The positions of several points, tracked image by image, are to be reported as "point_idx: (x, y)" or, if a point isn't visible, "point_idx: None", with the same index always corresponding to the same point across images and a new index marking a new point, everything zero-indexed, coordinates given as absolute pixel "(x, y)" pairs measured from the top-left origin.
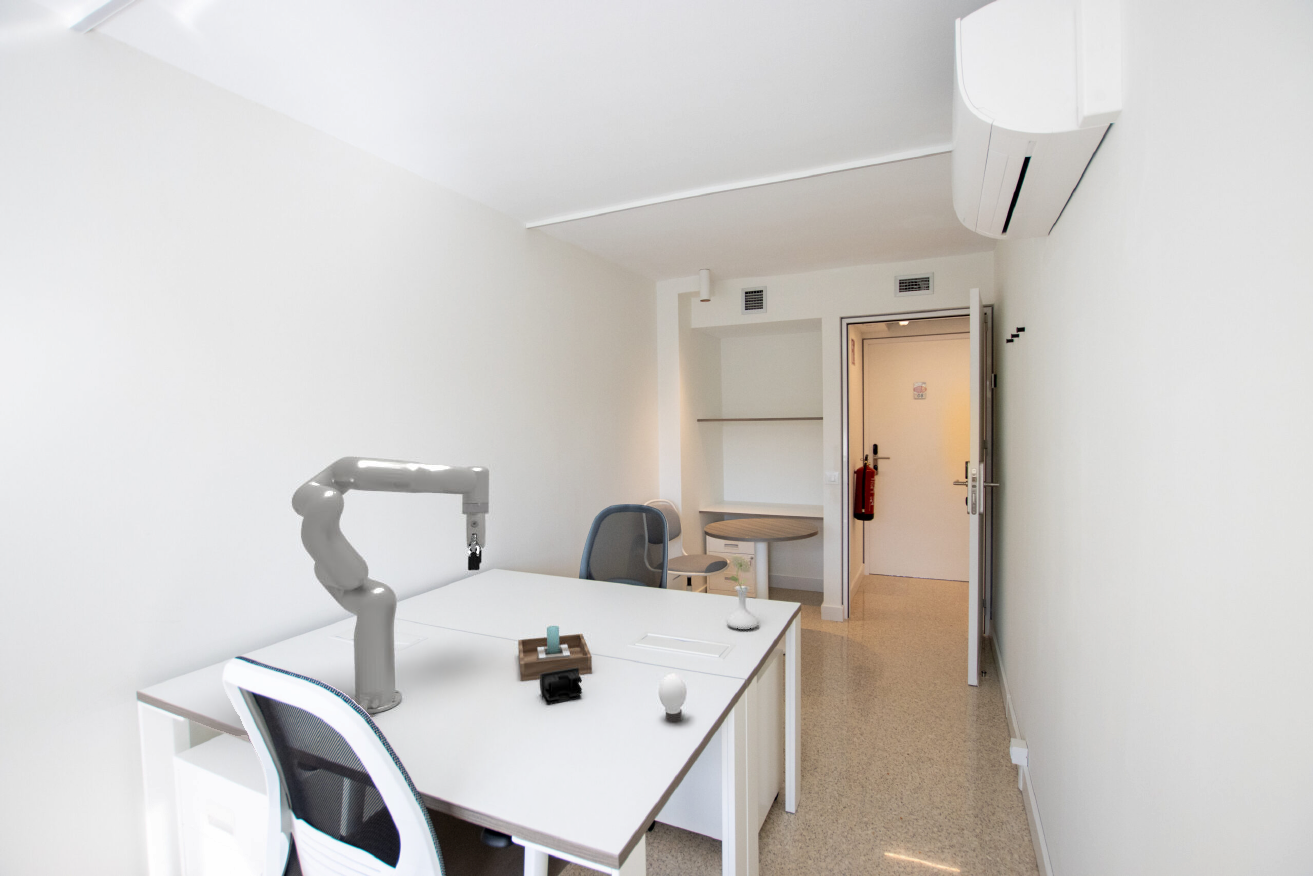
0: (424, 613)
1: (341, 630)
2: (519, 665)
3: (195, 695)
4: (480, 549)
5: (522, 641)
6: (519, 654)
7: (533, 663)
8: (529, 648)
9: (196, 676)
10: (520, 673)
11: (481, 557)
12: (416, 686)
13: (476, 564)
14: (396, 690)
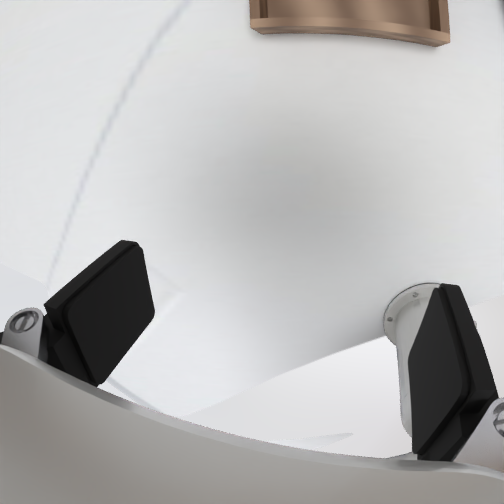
0: (26, 248)
1: None
2: (341, 33)
3: None
4: (43, 316)
5: (260, 16)
6: (363, 29)
7: (447, 11)
8: (265, 3)
9: None
10: (421, 42)
11: (99, 262)
12: (380, 260)
13: (482, 345)
14: (406, 296)
